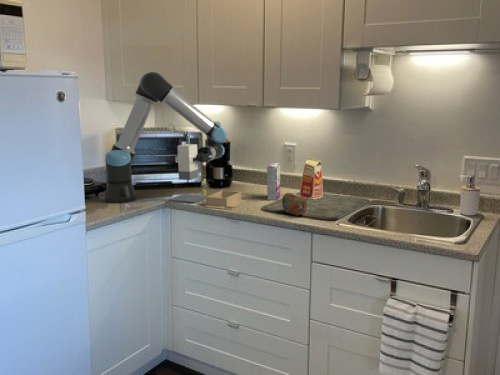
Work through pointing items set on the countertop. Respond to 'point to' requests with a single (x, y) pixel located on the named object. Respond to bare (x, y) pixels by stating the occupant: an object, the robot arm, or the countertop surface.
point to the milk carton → (312, 180)
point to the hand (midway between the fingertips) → (182, 160)
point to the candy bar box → (273, 181)
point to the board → (188, 198)
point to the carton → (224, 199)
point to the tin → (294, 203)
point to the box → (187, 169)
